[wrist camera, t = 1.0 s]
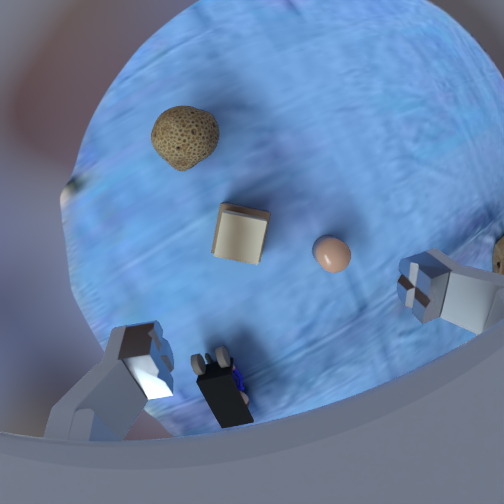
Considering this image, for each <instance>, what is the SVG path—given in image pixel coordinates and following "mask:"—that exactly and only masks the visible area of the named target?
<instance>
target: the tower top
mask: <svg viewBox="0 0 504 504" xmlns="http://www.w3.org/2000/svg"><path fill="white" fill-rule="evenodd" d="M266 224H267V221H266V219H265V218H264V217H259V216H254V215H249V214H244V213H239V212H234V211H229V210H224V211H223V212H222V216H221V221H220V226H219V232H218V237H217V242H216V248H215V253H214V256H215V257H220V258H225V259H230V260H235V261H240V262H245V263H250V264H255V265H258V261H259V256H260V252H261V247H262V243H263V238H264V233H265V229H266Z"/></svg>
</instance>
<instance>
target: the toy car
mask: <svg viewBox="0 0 504 504" xmlns="http://www.w3.org/2000/svg"><path fill="white" fill-rule="evenodd" d="M215 353H216V358H217V361H218V362H214V363H212V361H211V358H210V356H209V355H208V354H205V358H206V360H207V362H208V364H206V365H205V361H204V359H203V357H202V356H201V354H195V355H192V356H191V365H192V368H193V371H194V372H195V374H196V375H198V378H197V381H196V382H197V384H198V386H199V388H200V390H201V392H202V394H203V396H204V397H205V399H206V401H207V403H208V405H209V407H210V408H211V410H212V412H213V414H214V415H215V417H216V419H217V421H218V422H219V424H220V426H221V428H227V427H233V426H238V425H243V424H248V423H252V422H254V420H253V418H252V416H251V414H250V412H249V410H248V406H249V399H248V397H247V395H246V394H245V393H243V392H242V391H243V390H244V387H243V386H242V381H243V377H242V376H241V375H240V373H239V372H238V371H237V369H236V368H235V366H234V365H233V361H234V360H233V358H230V357H229V354H228V351H227V349H226V348H225V346H220V347H216V349H215ZM232 371H233V372H234V373H235V374H236V376H237V377H238V378H239V385H237V383H236V381H235V379H234V377H233V374H232Z"/></svg>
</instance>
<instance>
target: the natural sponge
mask: <svg viewBox="0 0 504 504" xmlns="http://www.w3.org/2000/svg"><path fill="white" fill-rule="evenodd" d="M218 140H219V129H218V125H217V122H216V120H215V118H214V117H213V115H212V114H210V113H209V112H206V111H203V110H199V109H196V108H194V107H190V106H176V107H173V108H170V109H168V110H166V111H164V112H163V113H162V114H161V115H160V116H159V117H158V119H157V120H156V122H155V124H154V127H153V129H152V133H151V141H152V145H153V147H154V148H155V150H156V151H157V152H158V154H159V155H160V156H161V157H162V158H163V159H164V160H165V161H166V162H168V163H169V164H170V165H171V166H172V167H173V168H174V169H176V170H179V171H186V170H188V169H190V168H192V167H194V166H195V165H196V164H197V163H198V162H200V161H202V160H204V159H205V158H207V157H208V156H209V155H211V153H212V152H213V151H214V150H215V148H216V146H217V143H218Z"/></svg>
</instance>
